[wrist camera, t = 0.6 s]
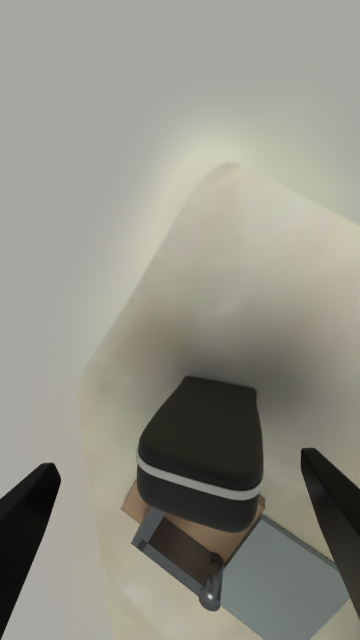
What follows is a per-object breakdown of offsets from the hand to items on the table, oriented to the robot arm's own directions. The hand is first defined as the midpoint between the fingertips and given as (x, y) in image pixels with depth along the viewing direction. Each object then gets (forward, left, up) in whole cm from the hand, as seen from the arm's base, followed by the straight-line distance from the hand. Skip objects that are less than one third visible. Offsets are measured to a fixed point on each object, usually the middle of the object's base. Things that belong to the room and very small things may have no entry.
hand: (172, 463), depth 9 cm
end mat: (-15, +16, -14) cm, 26 cm away
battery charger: (-2, +3, -14) cm, 15 cm away
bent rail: (-5, +14, -13) cm, 20 cm away
